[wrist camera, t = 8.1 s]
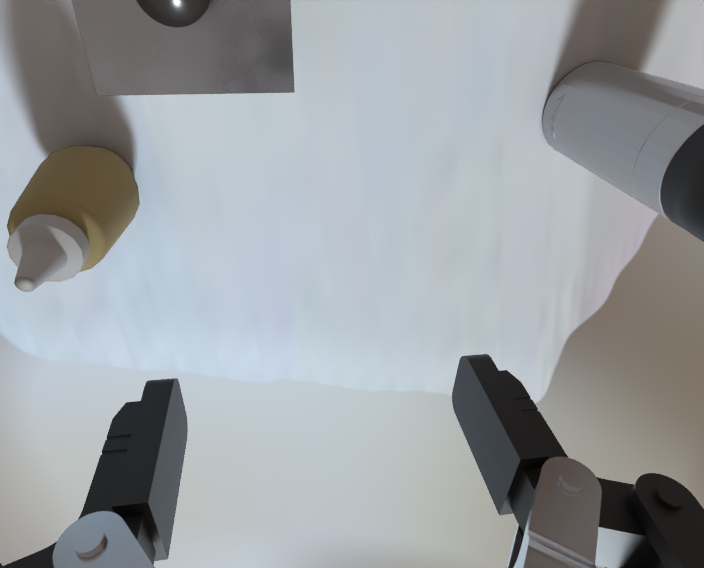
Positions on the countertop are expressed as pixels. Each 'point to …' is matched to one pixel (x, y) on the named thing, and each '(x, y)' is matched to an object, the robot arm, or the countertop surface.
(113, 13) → the drawer with knob
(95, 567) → the robot arm
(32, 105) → the countertop surface
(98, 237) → the squeeze bottle
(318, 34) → the countertop surface
